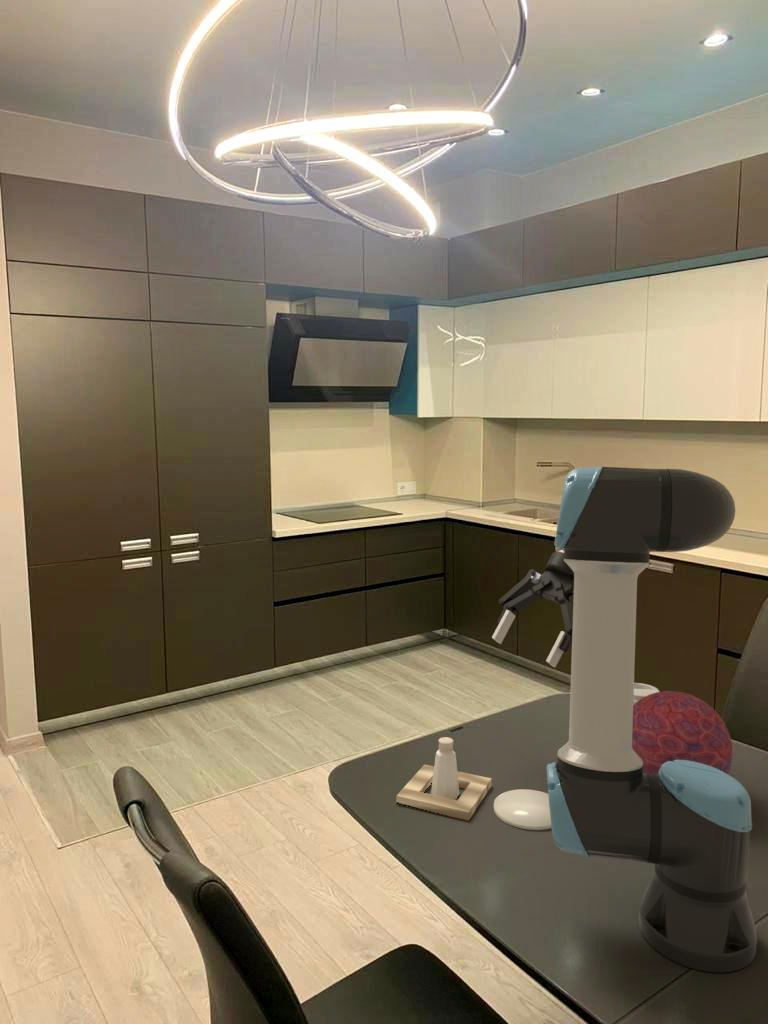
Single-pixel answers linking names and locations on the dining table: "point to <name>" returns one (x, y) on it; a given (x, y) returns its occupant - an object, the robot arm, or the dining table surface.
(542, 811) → the white plate
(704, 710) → the decorative sphere
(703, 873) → the robot arm
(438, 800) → the birch frame
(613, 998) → the dining table surface
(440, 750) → the pepper shaker
